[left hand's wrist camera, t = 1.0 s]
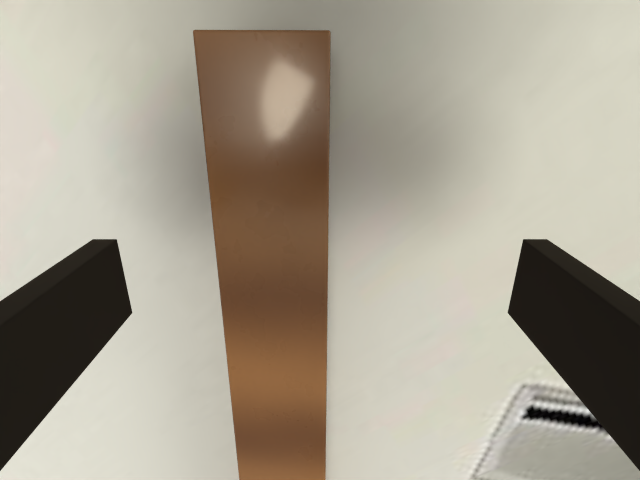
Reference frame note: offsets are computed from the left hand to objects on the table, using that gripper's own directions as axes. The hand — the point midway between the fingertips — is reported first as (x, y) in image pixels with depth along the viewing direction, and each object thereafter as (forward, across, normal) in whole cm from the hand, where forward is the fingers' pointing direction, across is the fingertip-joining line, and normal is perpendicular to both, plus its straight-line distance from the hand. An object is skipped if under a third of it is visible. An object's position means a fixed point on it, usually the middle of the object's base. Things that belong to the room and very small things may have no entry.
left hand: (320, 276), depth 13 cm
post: (+14, -2, -34) cm, 37 cm away
